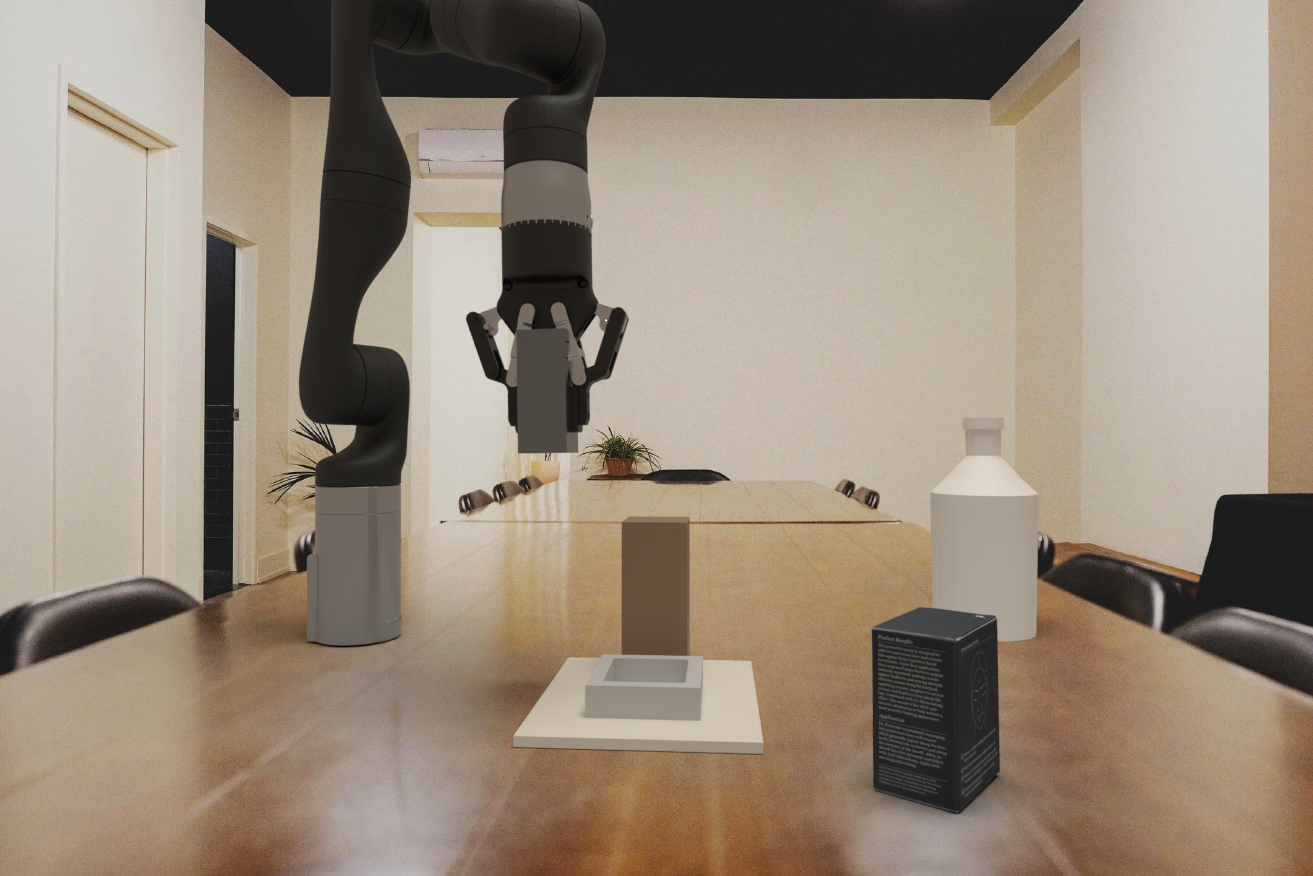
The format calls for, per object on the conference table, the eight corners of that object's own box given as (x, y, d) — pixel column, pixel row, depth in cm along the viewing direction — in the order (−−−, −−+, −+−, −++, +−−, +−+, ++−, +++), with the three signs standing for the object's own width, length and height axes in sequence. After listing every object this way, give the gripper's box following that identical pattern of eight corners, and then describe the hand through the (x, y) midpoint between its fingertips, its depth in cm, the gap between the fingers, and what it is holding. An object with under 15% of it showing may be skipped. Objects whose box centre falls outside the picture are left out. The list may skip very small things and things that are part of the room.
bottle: (1006, 647, 89) (1005, 415, 89) (910, 628, 98) (910, 418, 98) (1058, 631, 96) (1057, 418, 96) (964, 615, 105) (964, 420, 106)
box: (918, 754, 58) (918, 605, 58) (1001, 775, 55) (1001, 615, 55) (869, 790, 52) (869, 623, 52) (959, 816, 49) (958, 637, 49)
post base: (513, 747, 60) (513, 542, 60) (568, 665, 82) (568, 516, 82) (763, 754, 58) (763, 544, 58) (751, 669, 80) (751, 517, 80)
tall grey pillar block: (517, 453, 66) (516, 329, 67) (532, 453, 71) (531, 338, 71) (566, 452, 66) (565, 328, 66) (578, 452, 71) (576, 337, 71)
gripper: (449, 219, 66) (451, 433, 66) (625, 211, 65) (628, 429, 64) (477, 243, 73) (480, 435, 73) (635, 236, 72) (639, 432, 72)
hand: (549, 431), depth 69 cm, fingers closed on tall grey pillar block, 4 cm apart
